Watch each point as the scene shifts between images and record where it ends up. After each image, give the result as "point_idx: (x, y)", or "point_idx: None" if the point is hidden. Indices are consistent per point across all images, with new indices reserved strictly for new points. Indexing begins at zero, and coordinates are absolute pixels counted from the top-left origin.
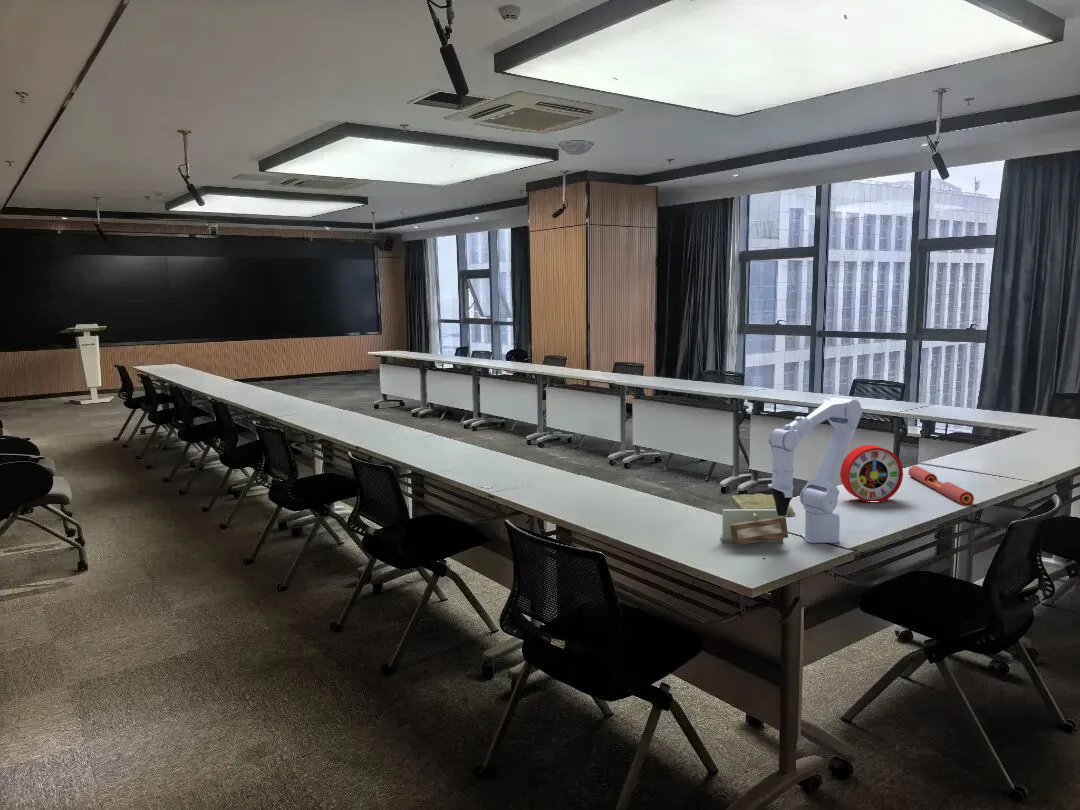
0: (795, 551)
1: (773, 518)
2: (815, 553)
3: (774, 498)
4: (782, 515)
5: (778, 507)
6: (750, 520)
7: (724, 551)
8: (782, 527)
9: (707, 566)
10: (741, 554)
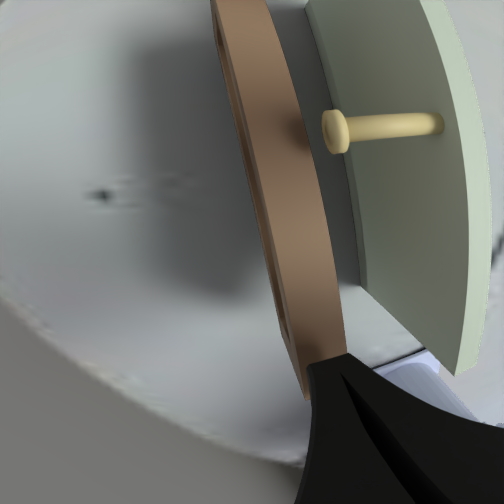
0: (239, 335)
1: (324, 302)
2: (232, 398)
3: (439, 460)
4: (310, 394)
5: (311, 431)
6: (398, 106)
7: (169, 16)
8: (286, 337)
9: (9, 18)
10: (136, 88)
